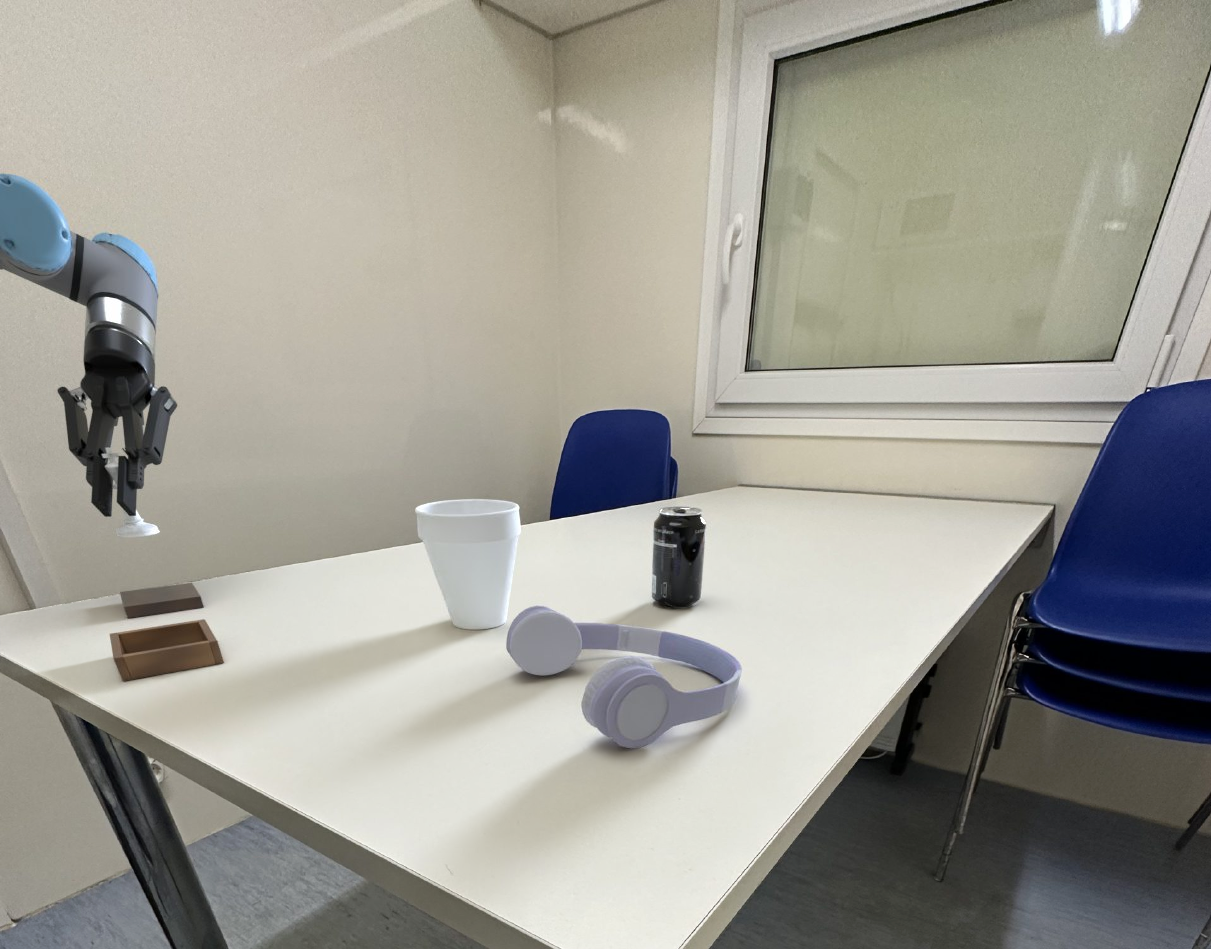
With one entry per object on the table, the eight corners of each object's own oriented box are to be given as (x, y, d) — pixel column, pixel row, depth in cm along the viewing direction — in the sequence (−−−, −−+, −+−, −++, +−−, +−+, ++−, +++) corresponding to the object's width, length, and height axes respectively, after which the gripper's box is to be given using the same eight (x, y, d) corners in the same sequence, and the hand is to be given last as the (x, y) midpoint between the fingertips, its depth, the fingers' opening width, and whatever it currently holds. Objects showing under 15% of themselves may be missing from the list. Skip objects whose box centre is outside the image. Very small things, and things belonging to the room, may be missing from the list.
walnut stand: (128, 618, 88) (123, 607, 87) (124, 602, 94) (119, 591, 93) (204, 607, 92) (200, 596, 91) (195, 592, 98) (192, 582, 98)
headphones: (596, 758, 54) (785, 723, 63) (601, 675, 51) (800, 649, 59) (499, 671, 71) (659, 652, 79) (497, 603, 67) (665, 591, 76)
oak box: (122, 681, 69) (113, 658, 68) (118, 655, 76) (109, 633, 75) (224, 662, 74) (217, 640, 72) (211, 639, 81) (204, 618, 79)
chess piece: (110, 534, 88) (78, 447, 82) (151, 528, 91) (122, 445, 86) (124, 539, 85) (91, 450, 80) (165, 533, 88) (136, 447, 83)
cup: (511, 639, 80) (502, 516, 73) (415, 633, 82) (396, 513, 75) (537, 609, 90) (531, 499, 83) (451, 605, 92) (437, 497, 85)
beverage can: (693, 595, 96) (699, 505, 90) (706, 609, 90) (713, 513, 84) (647, 597, 95) (649, 506, 89) (656, 611, 90) (660, 514, 83)
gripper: (196, 375, 92) (194, 526, 87) (76, 375, 90) (67, 530, 85) (167, 325, 85) (163, 486, 80) (36, 324, 83) (24, 490, 78)
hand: (114, 508), depth 83 cm, fingers closed on chess piece, 2 cm apart
